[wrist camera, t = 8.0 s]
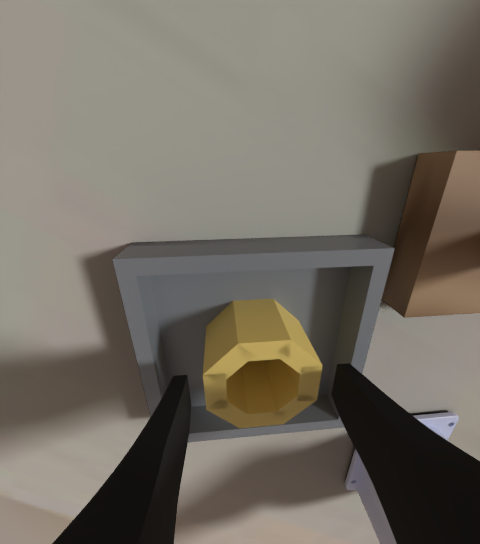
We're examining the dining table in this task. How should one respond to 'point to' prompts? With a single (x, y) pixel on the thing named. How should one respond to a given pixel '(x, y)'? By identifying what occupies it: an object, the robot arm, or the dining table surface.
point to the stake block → (438, 239)
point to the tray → (250, 286)
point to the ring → (258, 365)
